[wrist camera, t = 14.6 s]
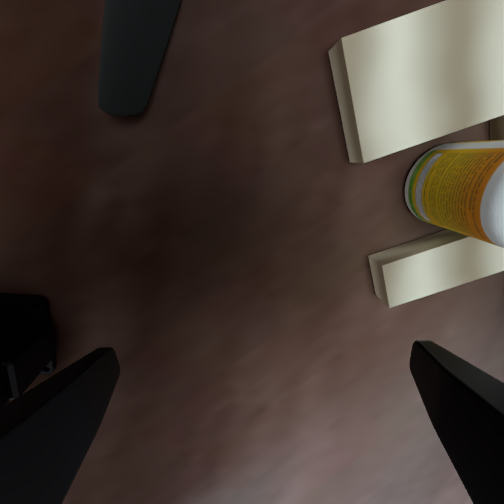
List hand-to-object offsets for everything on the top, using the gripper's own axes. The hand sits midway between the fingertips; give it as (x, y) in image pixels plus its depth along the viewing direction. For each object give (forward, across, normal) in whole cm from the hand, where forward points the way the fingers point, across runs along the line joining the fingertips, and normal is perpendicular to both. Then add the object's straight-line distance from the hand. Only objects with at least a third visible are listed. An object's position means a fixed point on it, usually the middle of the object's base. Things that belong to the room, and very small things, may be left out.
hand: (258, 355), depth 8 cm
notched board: (+14, -12, -4) cm, 18 cm away
